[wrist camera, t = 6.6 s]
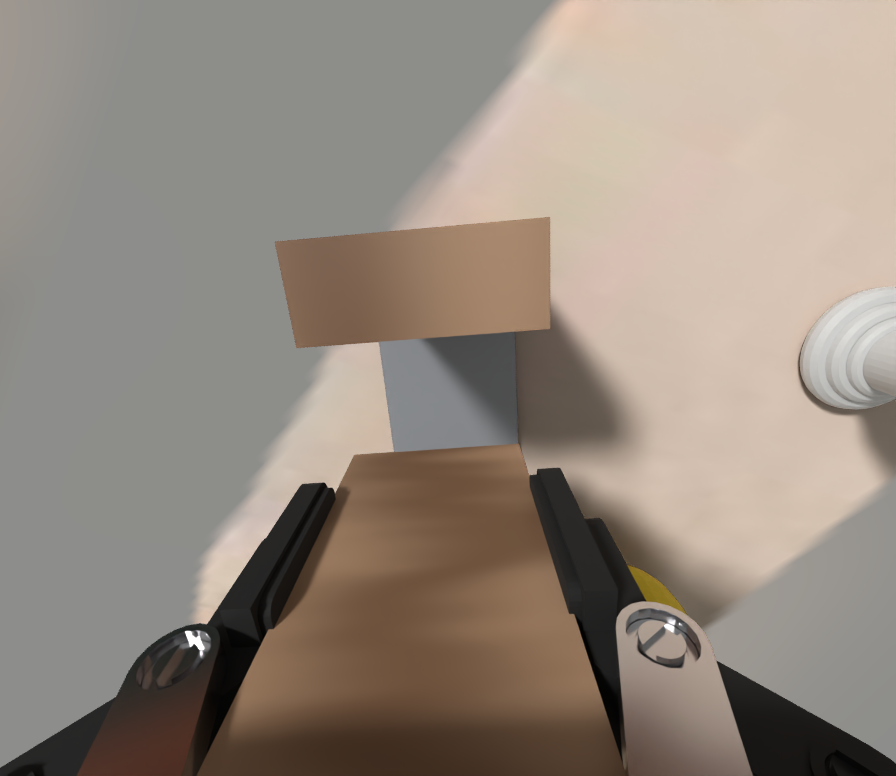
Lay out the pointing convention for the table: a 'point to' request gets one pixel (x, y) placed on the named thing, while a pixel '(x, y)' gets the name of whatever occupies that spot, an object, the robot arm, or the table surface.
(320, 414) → the table surface
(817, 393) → the chess piece
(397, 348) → the grey flat board
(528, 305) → the domino
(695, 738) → the robot arm
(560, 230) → the table surface
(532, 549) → the domino
